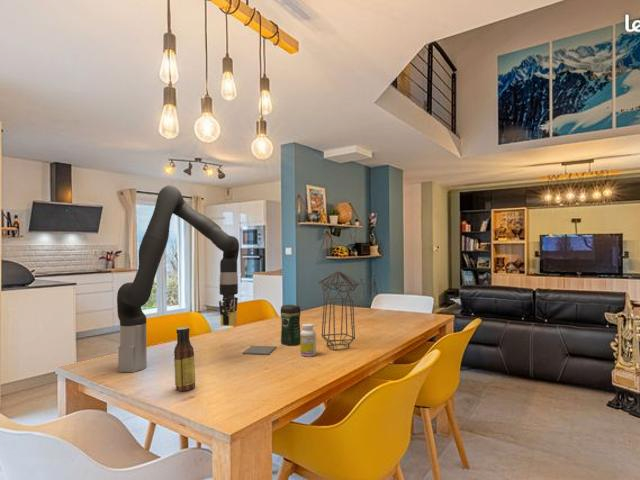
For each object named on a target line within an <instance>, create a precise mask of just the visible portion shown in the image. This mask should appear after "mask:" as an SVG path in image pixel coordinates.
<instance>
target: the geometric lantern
mask: <svg viewBox="0 0 640 480" xmlns="http://www.w3.org/2000/svg"><path fill="white" fill-rule="evenodd" d="M340 279H341V280H340ZM317 283H318V284H319V285H320V288H321V289H322V291H323V292H325V293H326V296H327V297H326V298H325V294H323V310H322V311H323V312H322V326H321V337H322V338H323V339H324V341H325V342H326V347H327V348H328V349H330V350H332V351H340V350H348V349H350V344H351V343H352V342H353V341H354V340H355V339H356V330H355V328H356V327H355V310H354V306H355V305H354V299H353V298H352V297H353V292H355V289H356V288H357V287H358V286H359V285H360V283H359V282H357V281H356V280H355V279H354V278H351V277H350V276H348V275H347V274H346V273H344V272H342V271H339V270H336V271H334V272H333V273H332V274H330V275H328V276H327V277H325V278H323V279H321V280H320V281H319V282H317ZM332 286H333V288H332ZM342 287H345V288H346V289H345V290H342ZM339 288H340V289H339ZM328 289H329V291H327V290H328ZM331 290H334V291H336V292H337V294H336V295H335V297H333V299H331V297H330V296H329V295H330V294H331V293H330V292H331ZM340 293H346V294H347V295H346V297H345V298H343V296H342V295H341V294H340ZM338 295H339V296H340V298H338V297H337V296H338ZM338 300H339V301H338ZM328 302H329V312H328V313H329V314H328V315H329V317H328V319H329V320H328V332H327V333H328V334H326V324H327V323H326V322H327V309H328ZM347 302H348V303H349V308H350V325H351V335H350V334H348V313H347V312H348V311H347V310H348V309H347ZM332 303H333V304H332ZM335 303H341V318H340V319H341V322H340V324H341V325H340V327H341V328H340V332H339V333H336V326H335V325H336V323H335V318H336V317H335V311H336V310H335ZM344 305H345V306H344ZM332 307H333V309H332ZM344 307H345V308H344ZM344 309H345V326H346V327H345V330H346V332H345V333H343V315H344V313H343V312H344ZM332 310H333V312H332ZM331 312H332V313H331ZM331 314H333V320H332V321H333V333H331V332H330V331H331ZM339 335H340V338H339V339H336V336H339ZM342 335H343V336H344V337H343V339H342ZM326 336H328V338H327V337H326ZM330 336H333V339H330ZM347 336H348V337H350V338H349V339H348V338H347V339H346V337H347ZM348 341H350V342H348ZM333 342H334V343H333ZM336 342H341V343H336ZM329 344H330V345H329ZM337 346H344V347H345V348H335V347H337ZM332 347H333V348H332Z"/></svg>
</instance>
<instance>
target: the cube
mask: <svg viewBox="0 0 640 480" xmlns="http://www.w3.org/2000/svg"><path fill="white" fill-rule="evenodd" d="M237 316H238V312H237V311H235V312H229V324H228V325H223V316H222V315H220V326H221V327H222V326H223V327H233V326H235V325H237V323H238V317H237Z"/></svg>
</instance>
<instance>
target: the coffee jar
mask: <svg viewBox="0 0 640 480" xmlns="http://www.w3.org/2000/svg"><path fill="white" fill-rule="evenodd" d="M301 313H302V312H301V306H299V305H296V304H295V305H294V304H284V305H281V307H280V317H281V319H280V320H281V333H280V343H281V344H282V345H285V346H297V345H300V332H301V324H300V321H301V320H300V319H301Z"/></svg>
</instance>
